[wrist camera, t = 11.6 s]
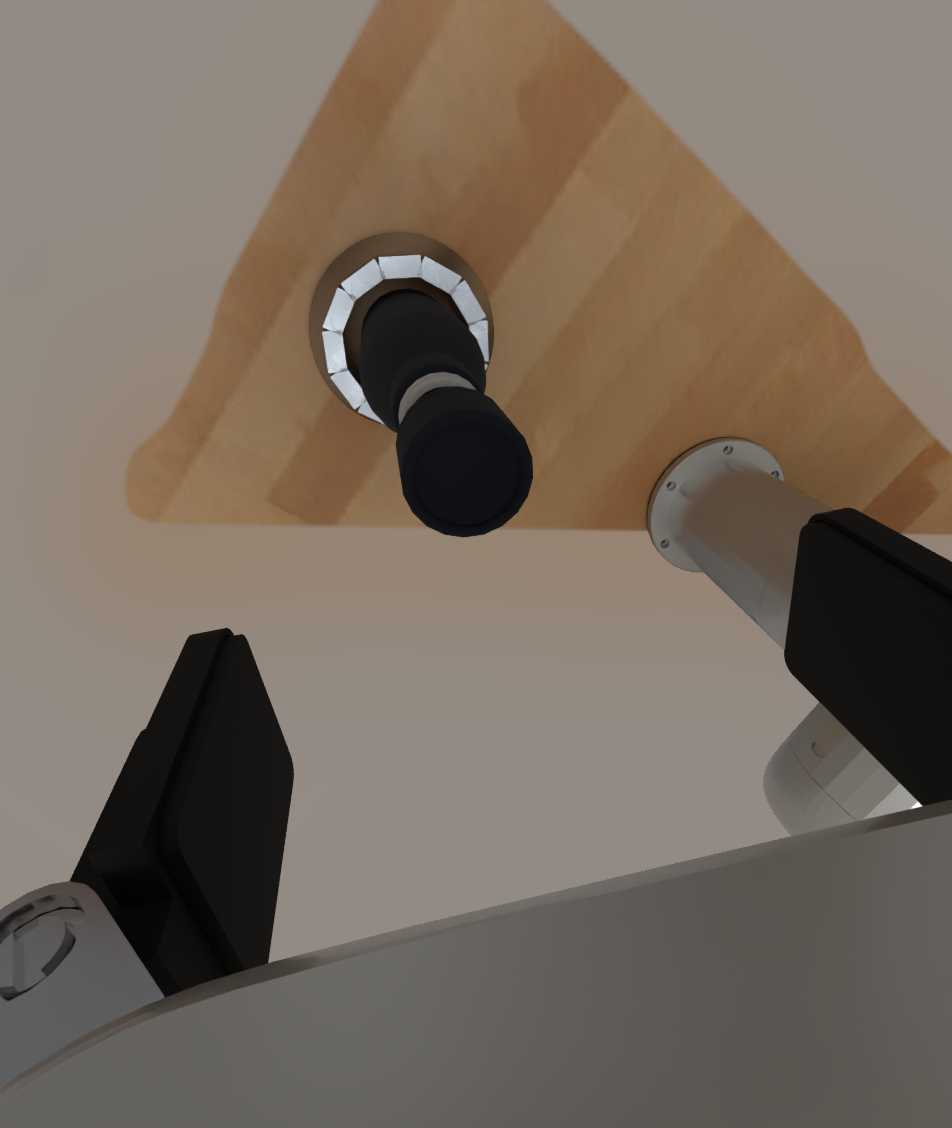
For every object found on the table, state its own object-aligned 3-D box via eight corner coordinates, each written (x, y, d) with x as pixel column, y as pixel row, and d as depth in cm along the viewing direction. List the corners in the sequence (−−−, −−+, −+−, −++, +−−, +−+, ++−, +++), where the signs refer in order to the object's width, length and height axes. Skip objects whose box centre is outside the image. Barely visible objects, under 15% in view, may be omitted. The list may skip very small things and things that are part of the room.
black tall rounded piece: (454, 291, 43) (593, 366, 17) (449, 385, 46) (562, 575, 20) (360, 284, 42) (351, 355, 16) (361, 381, 45) (356, 578, 19)
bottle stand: (521, 290, 45) (543, 297, 39) (443, 448, 50) (453, 475, 44) (353, 193, 41) (350, 185, 35) (284, 376, 45) (272, 395, 40)
